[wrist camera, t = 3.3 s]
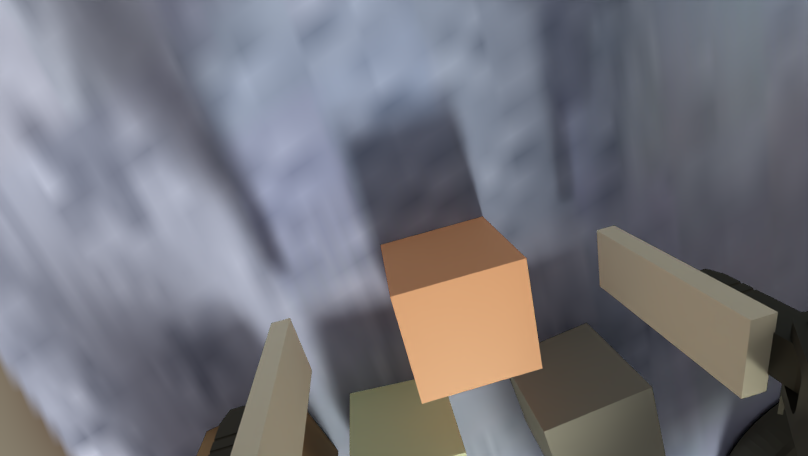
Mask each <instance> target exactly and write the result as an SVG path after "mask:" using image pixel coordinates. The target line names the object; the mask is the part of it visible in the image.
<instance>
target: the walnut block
mask: <svg viewBox="0 0 808 456" xmlns="http://www.w3.org/2000/svg"><path fill="white" fill-rule="evenodd" d="M218 427H219V426H217V427H215V428H213V429H211V430H209V431H207V432H206V435H205V437H204V439H203V442H202V444H201V447H200V449H199V451H198V454H197V456H208V455H209V454H210V449H211V446H212V444H213V442H214V438H215V436H216V433H217V430H218ZM302 456H338V450H337V449H336V448H335V446H334V445H333V444H332V442H331V441H330V440H329V439H328V437H327V436H326V435H325V434H324V432H323V431H322V430H321V428H320V427H319V426H318V425H317V423H316V422H315V421H314V419H313V418H312V417H311V416H310V414H309V413H308V412H307V417H306V425H305V434H304V442H303V451H302Z"/></svg>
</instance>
